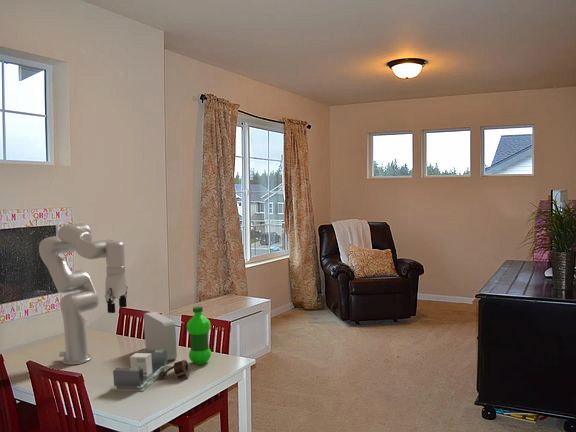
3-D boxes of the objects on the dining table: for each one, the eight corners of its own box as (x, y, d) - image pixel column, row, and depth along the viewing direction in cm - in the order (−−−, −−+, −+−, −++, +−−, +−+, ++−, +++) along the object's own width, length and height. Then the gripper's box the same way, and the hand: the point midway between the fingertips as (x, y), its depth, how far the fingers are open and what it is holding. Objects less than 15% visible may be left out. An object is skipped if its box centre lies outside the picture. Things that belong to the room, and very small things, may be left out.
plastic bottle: (195, 358, 244) (192, 304, 242) (216, 359, 240) (213, 305, 239) (184, 365, 234) (181, 309, 233) (205, 367, 231) (202, 310, 229)
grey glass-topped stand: (110, 390, 209) (108, 368, 208) (141, 366, 235) (140, 347, 234) (143, 391, 206) (142, 369, 205) (171, 367, 232) (170, 348, 232)
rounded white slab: (182, 359, 243) (179, 320, 242) (166, 362, 239) (163, 323, 238) (160, 345, 267) (158, 309, 266) (145, 348, 263) (143, 312, 262)
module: (131, 376, 219) (130, 356, 218) (136, 371, 224) (135, 353, 223) (147, 376, 217) (145, 357, 217) (152, 372, 222) (151, 353, 222)
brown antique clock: (181, 370, 212) (194, 357, 221) (154, 365, 217) (167, 352, 226) (183, 386, 215) (195, 372, 223) (156, 380, 219) (169, 367, 228)
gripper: (117, 266, 236) (119, 304, 237) (96, 274, 219) (98, 314, 221) (133, 267, 235) (134, 305, 236) (113, 274, 218) (115, 315, 219)
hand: (117, 309), depth 228 cm, fingers open, 9 cm apart
